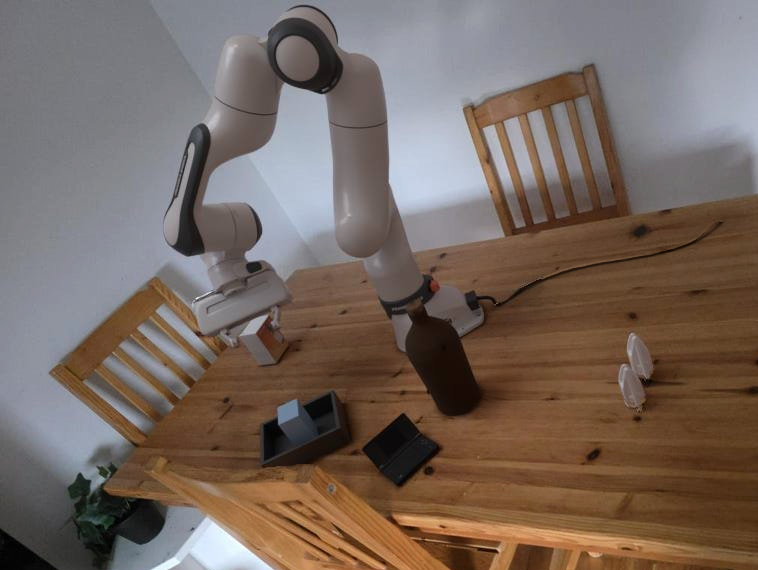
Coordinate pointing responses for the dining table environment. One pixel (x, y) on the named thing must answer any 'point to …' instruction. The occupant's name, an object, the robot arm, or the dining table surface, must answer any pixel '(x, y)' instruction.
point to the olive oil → (440, 361)
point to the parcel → (296, 422)
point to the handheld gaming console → (399, 449)
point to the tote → (330, 437)
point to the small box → (264, 340)
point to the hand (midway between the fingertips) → (257, 338)
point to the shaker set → (634, 371)
